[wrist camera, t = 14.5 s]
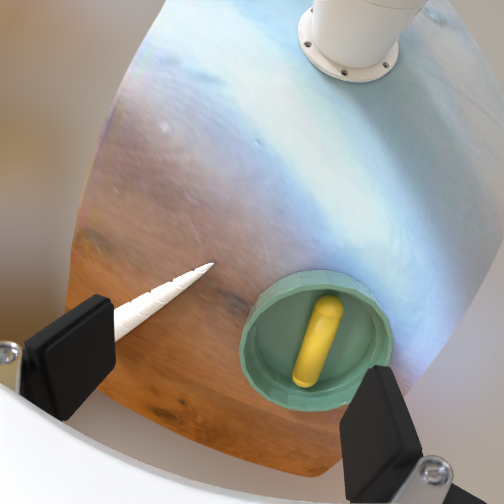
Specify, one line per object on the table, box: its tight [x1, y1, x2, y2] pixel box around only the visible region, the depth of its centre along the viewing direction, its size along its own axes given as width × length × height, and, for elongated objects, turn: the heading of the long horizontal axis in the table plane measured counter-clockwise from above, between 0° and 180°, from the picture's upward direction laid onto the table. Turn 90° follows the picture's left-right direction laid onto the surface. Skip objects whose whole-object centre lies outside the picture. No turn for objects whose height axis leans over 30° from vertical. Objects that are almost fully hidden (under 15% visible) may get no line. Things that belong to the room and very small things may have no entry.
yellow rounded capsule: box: [292, 295, 344, 388], centre depth 35 cm, size 14×4×4 cm, turn 169°
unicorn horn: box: [114, 263, 214, 342], centre depth 37 cm, size 5×24×5 cm, turn 119°
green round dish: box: [239, 269, 393, 412], centre depth 35 cm, size 18×18×6 cm
